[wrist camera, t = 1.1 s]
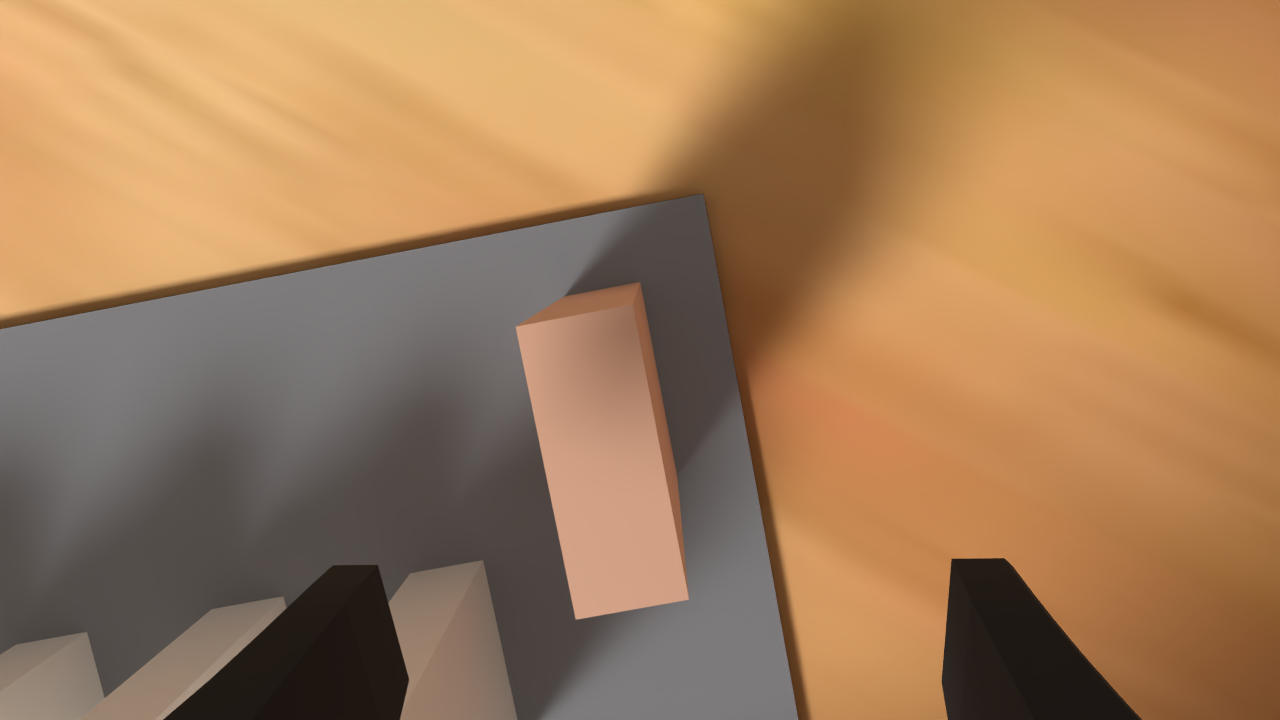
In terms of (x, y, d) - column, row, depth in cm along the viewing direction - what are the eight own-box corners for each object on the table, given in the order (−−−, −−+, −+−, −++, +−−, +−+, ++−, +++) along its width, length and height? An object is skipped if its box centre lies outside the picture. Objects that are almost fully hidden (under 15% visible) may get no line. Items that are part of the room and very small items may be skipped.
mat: (702, 194, 26) (703, 193, 25) (806, 768, 27) (808, 776, 27) (-429, 412, 27) (-446, 415, 26) (-256, 949, 29) (-269, 960, 28)
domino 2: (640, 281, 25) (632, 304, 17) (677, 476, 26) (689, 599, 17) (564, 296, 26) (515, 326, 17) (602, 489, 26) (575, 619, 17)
